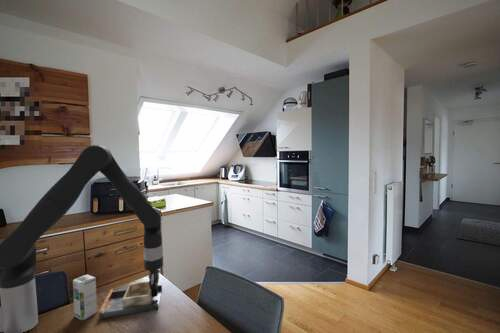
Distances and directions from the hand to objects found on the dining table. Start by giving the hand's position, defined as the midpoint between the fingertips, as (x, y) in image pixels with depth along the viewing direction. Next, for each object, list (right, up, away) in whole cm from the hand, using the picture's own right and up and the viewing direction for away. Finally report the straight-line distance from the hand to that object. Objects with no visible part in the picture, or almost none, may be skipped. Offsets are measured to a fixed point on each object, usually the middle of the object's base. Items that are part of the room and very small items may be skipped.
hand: (154, 295), depth 105 cm
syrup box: (-23, -3, -9) cm, 25 cm away
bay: (-9, -2, -2) cm, 9 cm away
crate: (-6, -2, -1) cm, 6 cm away
